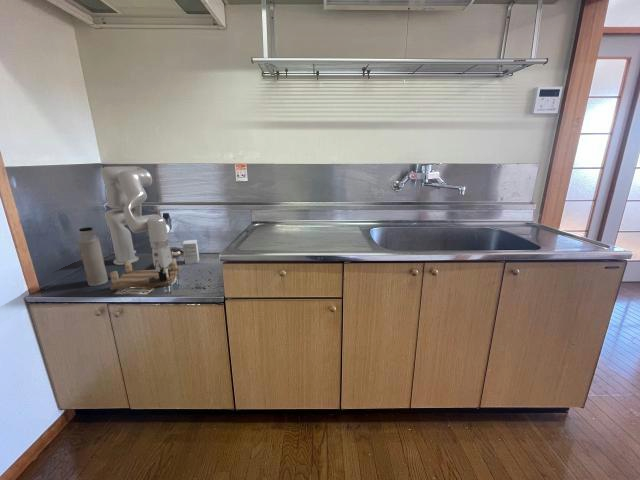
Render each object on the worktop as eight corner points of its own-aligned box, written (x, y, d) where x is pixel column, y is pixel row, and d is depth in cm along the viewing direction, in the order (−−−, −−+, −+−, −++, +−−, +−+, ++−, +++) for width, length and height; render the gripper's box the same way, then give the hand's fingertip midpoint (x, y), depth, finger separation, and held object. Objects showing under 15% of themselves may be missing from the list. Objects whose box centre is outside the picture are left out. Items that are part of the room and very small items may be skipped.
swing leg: (148, 282, 137) (146, 271, 135) (150, 279, 140) (148, 268, 138) (168, 281, 138) (166, 269, 137) (170, 278, 141) (168, 267, 140)
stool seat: (127, 274, 151) (124, 260, 149) (179, 271, 155) (177, 257, 153) (110, 289, 134) (106, 274, 132) (169, 285, 138) (166, 270, 136)
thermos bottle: (85, 286, 137) (71, 230, 129) (91, 280, 144) (78, 226, 136) (105, 284, 139) (92, 229, 131) (110, 278, 147) (98, 225, 139)
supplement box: (186, 260, 172) (183, 240, 169) (199, 259, 174) (197, 239, 171) (184, 264, 166) (182, 243, 162) (198, 263, 168) (196, 242, 164)
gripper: (160, 249, 126) (166, 286, 132) (174, 238, 142) (179, 272, 148) (142, 249, 126) (149, 286, 131) (159, 238, 141) (164, 272, 147)
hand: (165, 278), depth 139 cm, fingers closed on swing leg, 3 cm apart
